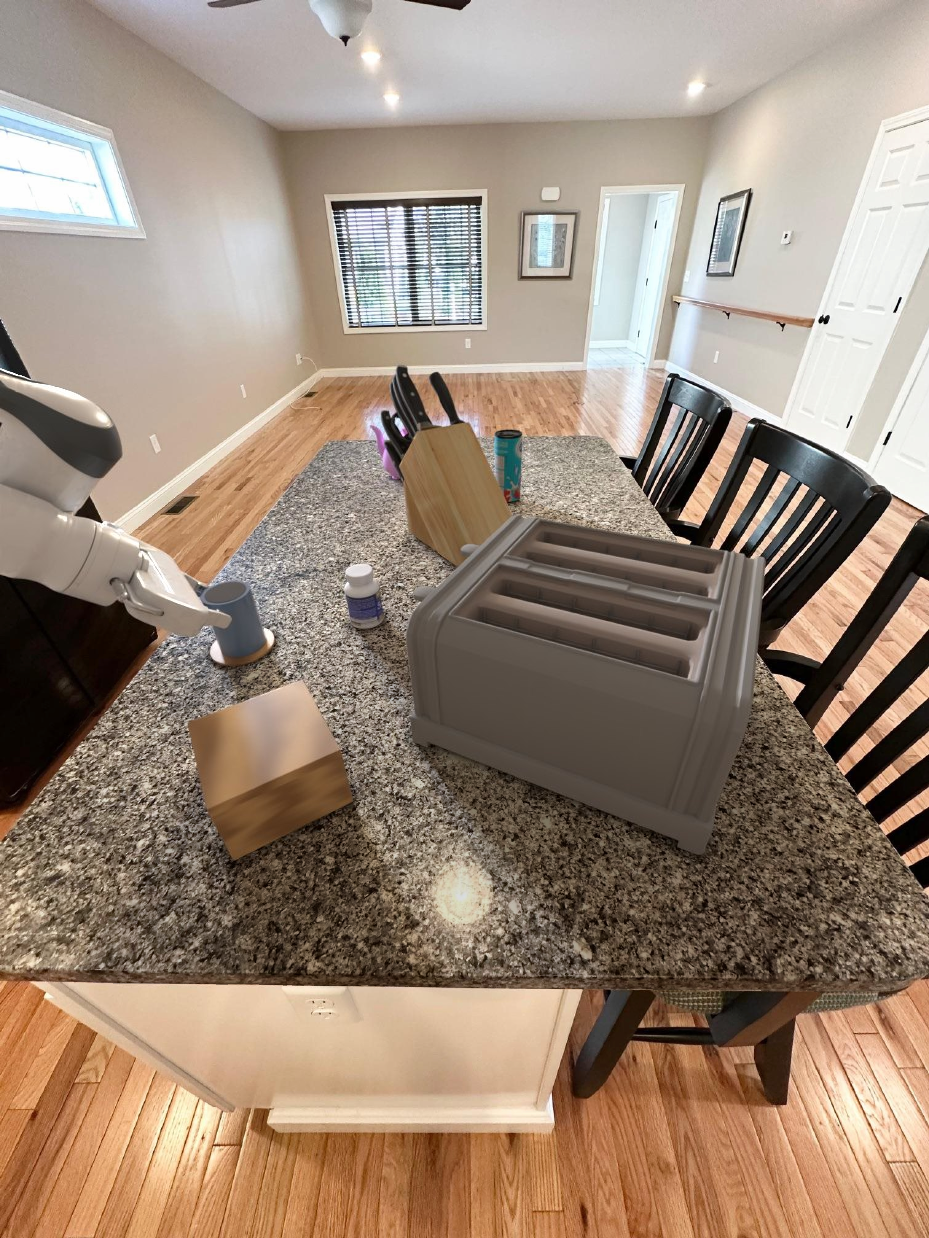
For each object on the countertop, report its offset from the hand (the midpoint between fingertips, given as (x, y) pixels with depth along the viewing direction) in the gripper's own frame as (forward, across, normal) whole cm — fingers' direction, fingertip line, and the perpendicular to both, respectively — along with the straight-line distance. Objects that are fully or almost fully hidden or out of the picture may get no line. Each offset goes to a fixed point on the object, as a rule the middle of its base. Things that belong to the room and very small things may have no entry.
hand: (217, 606), depth 70 cm
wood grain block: (+3, -27, +8) cm, 28 cm away
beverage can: (+54, +16, -42) cm, 70 cm away
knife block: (+38, +8, -26) cm, 47 cm away
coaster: (+7, +1, +5) cm, 8 cm away
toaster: (+28, -37, -16) cm, 49 cm away
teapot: (+48, +46, -37) cm, 76 cm away
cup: (+7, 0, +4) cm, 8 cm away
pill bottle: (+19, -5, -8) cm, 21 cm away
